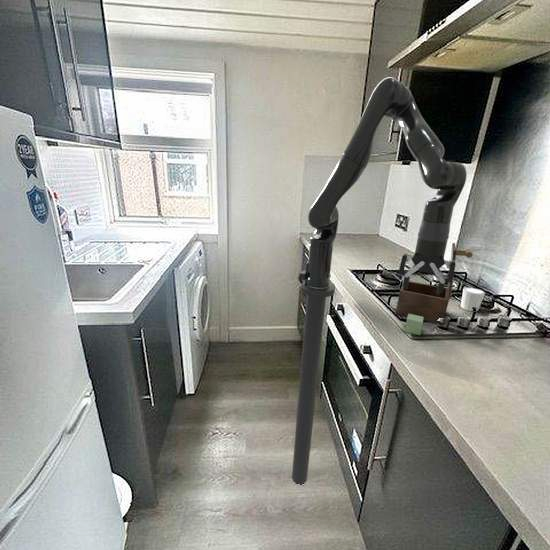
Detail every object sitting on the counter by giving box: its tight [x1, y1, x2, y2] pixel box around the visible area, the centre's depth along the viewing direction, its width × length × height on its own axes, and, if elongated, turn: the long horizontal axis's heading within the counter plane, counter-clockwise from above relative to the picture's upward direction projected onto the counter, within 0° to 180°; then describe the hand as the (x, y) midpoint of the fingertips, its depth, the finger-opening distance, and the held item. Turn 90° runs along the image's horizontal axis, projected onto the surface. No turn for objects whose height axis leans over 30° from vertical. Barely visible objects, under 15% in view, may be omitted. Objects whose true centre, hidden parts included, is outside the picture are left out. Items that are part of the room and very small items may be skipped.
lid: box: [447, 242, 474, 300], centre depth 97 cm, size 16×13×5 cm
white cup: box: [460, 287, 486, 312], centre depth 111 cm, size 7×7×7 cm
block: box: [404, 314, 424, 336], centre depth 93 cm, size 4×4×4 cm
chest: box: [395, 280, 450, 326], centre depth 105 cm, size 15×13×9 cm
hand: (421, 291), depth 89 cm, fingers open, 8 cm apart
